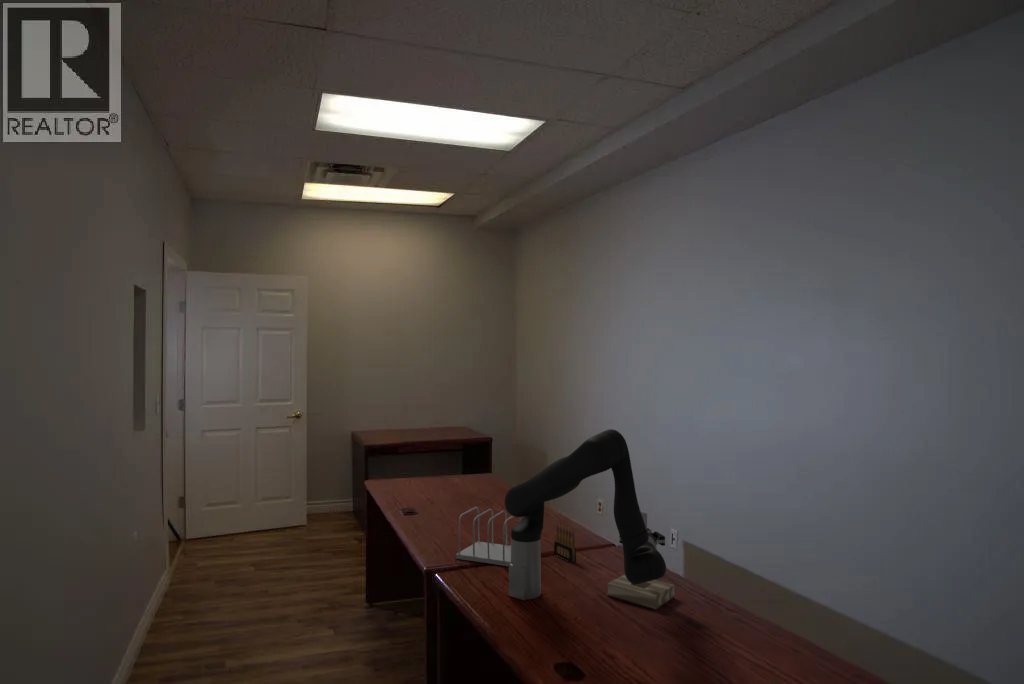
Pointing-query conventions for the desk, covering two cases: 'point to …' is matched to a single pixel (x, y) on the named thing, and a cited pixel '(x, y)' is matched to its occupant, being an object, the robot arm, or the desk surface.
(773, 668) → the desk surface
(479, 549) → the file sorter
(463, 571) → the desk surface
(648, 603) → the socket block
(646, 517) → the steel pin
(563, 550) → the ammunition clip
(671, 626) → the desk surface
